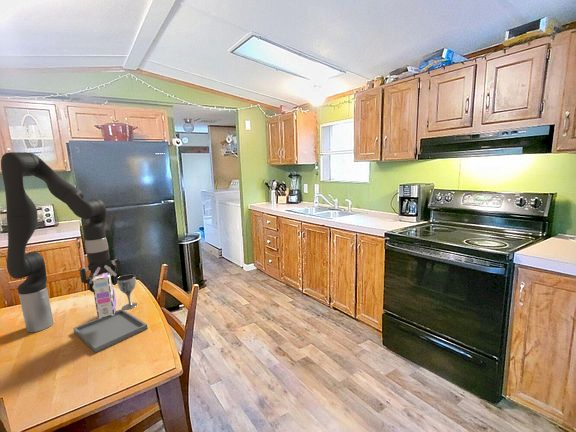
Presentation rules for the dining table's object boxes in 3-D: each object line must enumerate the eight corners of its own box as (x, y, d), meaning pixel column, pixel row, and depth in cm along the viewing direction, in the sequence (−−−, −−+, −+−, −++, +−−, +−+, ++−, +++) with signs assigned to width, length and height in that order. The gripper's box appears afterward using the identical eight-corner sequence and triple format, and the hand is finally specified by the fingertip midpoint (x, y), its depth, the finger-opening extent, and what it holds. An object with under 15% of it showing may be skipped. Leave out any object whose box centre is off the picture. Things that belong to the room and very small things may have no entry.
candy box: (115, 315, 118) (108, 276, 115) (97, 319, 115) (90, 280, 112) (116, 302, 130) (110, 266, 127) (100, 305, 127) (94, 269, 124)
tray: (74, 332, 124) (73, 328, 124) (122, 312, 139) (122, 309, 139) (95, 353, 109) (94, 348, 109) (147, 328, 125) (147, 324, 124)
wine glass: (131, 310, 141) (127, 281, 138) (117, 309, 143) (112, 280, 140) (142, 302, 149) (138, 274, 146) (128, 301, 150) (124, 273, 147)
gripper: (112, 243, 126) (118, 280, 129) (73, 252, 115) (80, 292, 118) (120, 246, 121) (126, 284, 124) (79, 255, 110) (87, 296, 113)
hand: (103, 287), depth 121 cm, fingers closed on candy box, 7 cm apart
